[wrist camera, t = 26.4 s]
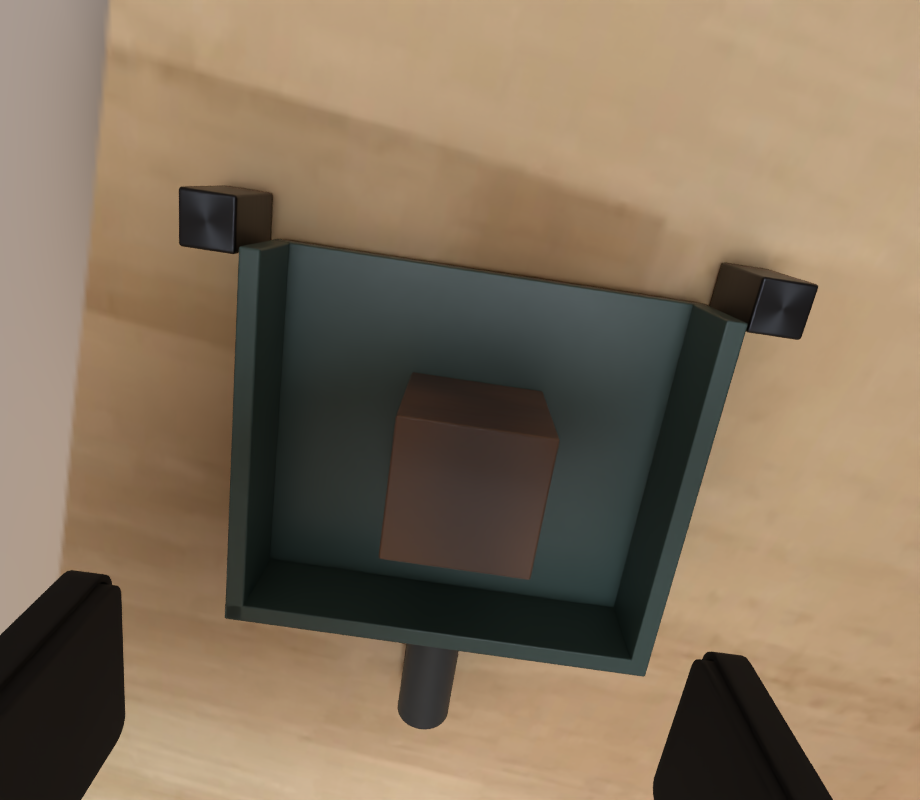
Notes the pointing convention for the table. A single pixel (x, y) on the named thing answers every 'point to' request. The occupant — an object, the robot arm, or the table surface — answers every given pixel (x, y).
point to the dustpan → (370, 444)
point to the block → (468, 476)
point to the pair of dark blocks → (736, 293)
